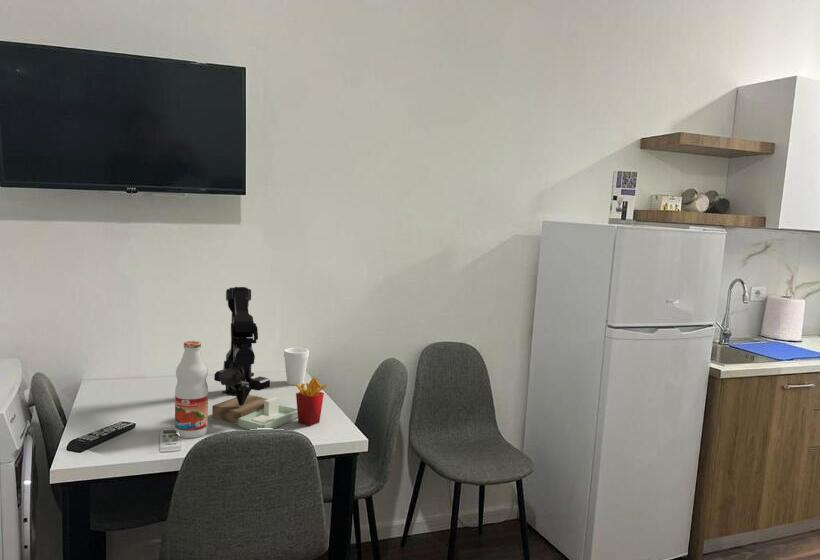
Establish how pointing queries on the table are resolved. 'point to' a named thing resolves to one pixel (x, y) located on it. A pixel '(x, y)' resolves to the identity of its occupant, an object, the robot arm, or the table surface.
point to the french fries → (309, 402)
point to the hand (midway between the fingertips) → (241, 405)
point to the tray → (280, 418)
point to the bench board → (237, 408)
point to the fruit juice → (191, 393)
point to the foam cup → (296, 364)
